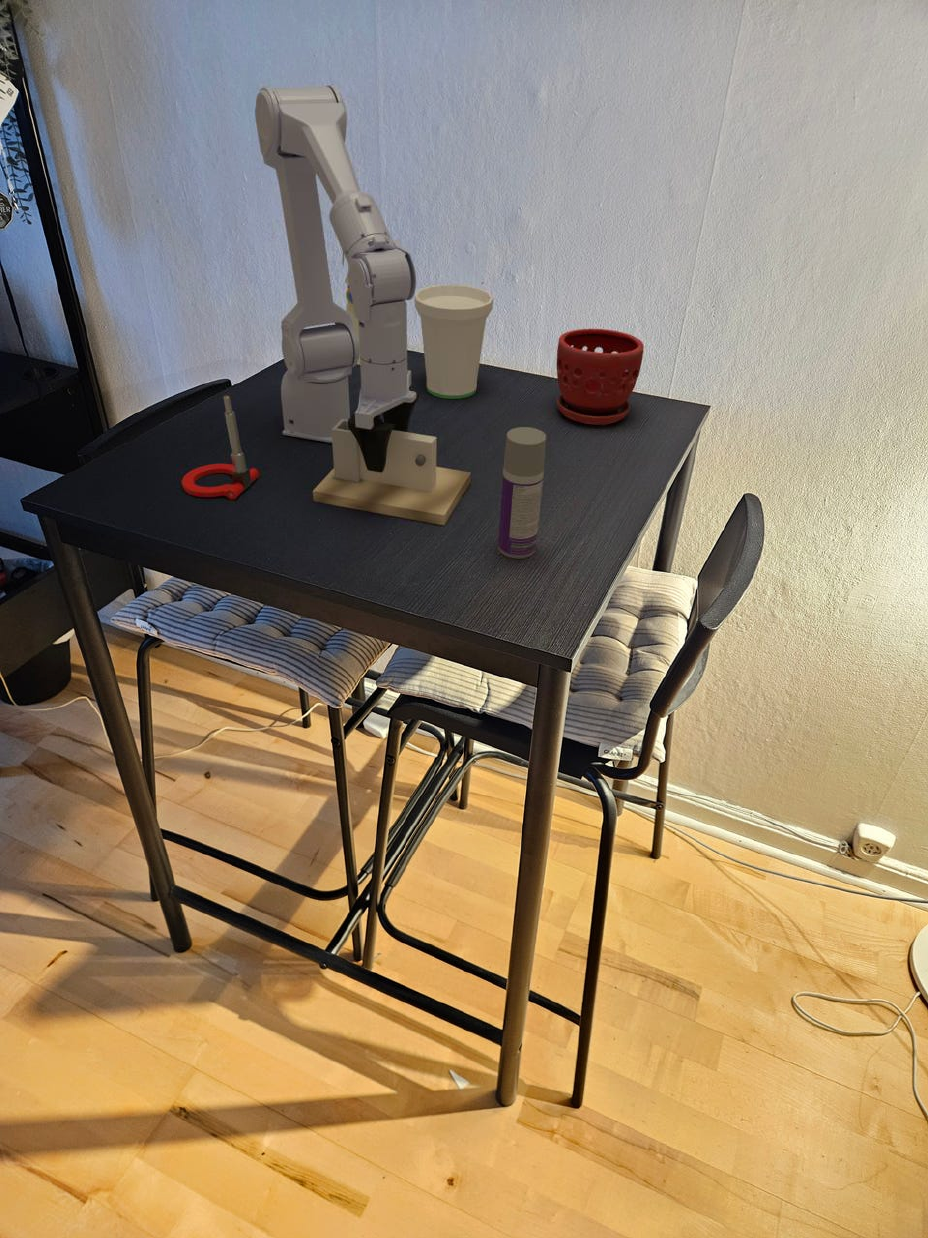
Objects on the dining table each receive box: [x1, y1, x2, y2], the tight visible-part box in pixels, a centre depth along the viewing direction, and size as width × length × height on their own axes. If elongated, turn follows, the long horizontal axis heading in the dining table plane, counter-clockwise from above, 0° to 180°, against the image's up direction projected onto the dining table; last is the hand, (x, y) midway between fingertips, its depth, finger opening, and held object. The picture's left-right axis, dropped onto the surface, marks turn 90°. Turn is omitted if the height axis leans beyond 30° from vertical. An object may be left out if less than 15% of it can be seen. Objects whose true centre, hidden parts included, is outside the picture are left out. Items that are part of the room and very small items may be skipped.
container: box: [497, 426, 547, 560], centre depth 98 cm, size 5×5×15 cm
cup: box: [413, 284, 494, 400], centre depth 136 cm, size 12×12×15 cm
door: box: [331, 419, 438, 492], centre depth 110 cm, size 13×3×7 cm, turn 74°
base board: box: [312, 466, 472, 526], centre depth 111 cm, size 18×12×5 cm, turn 74°
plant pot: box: [556, 328, 645, 426], centre depth 131 cm, size 13×13×12 cm
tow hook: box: [181, 395, 260, 501], centre depth 109 cm, size 8×13×9 cm
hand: (386, 457), depth 110 cm, fingers open, 7 cm apart
